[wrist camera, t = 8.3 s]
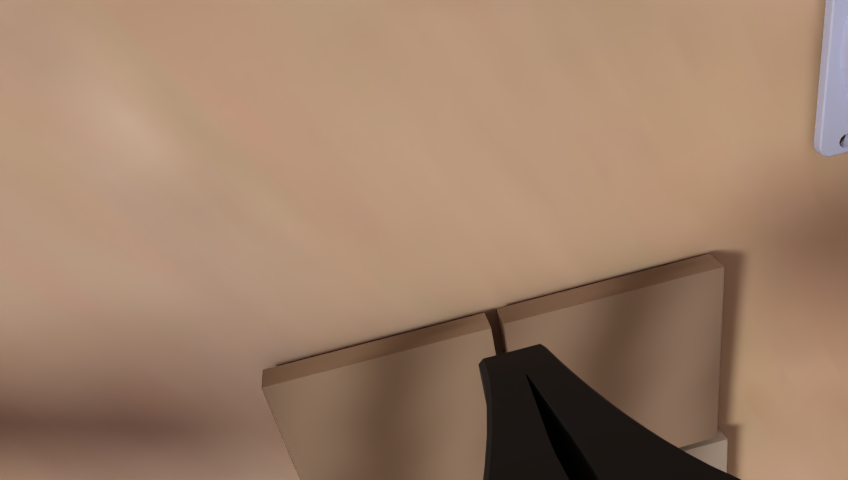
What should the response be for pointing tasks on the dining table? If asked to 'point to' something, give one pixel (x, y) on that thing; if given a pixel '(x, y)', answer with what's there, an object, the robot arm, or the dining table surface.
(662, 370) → the plank
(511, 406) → the robot arm
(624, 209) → the dining table surface
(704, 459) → the grey slab
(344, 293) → the dining table surface
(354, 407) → the plank
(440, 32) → the dining table surface
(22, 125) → the dining table surface
